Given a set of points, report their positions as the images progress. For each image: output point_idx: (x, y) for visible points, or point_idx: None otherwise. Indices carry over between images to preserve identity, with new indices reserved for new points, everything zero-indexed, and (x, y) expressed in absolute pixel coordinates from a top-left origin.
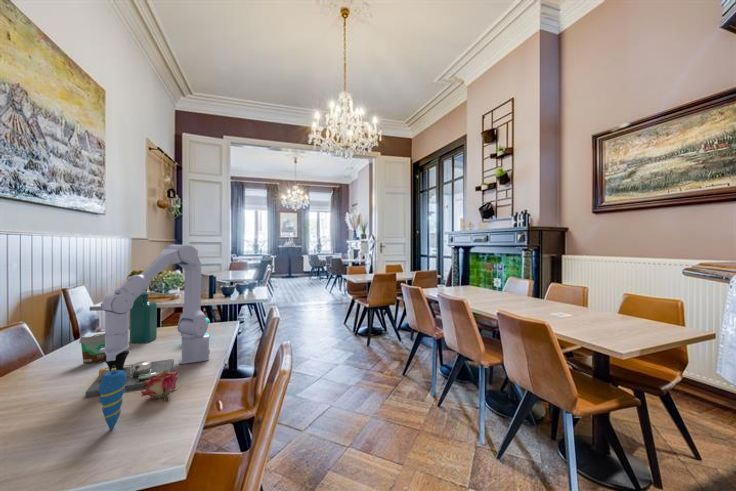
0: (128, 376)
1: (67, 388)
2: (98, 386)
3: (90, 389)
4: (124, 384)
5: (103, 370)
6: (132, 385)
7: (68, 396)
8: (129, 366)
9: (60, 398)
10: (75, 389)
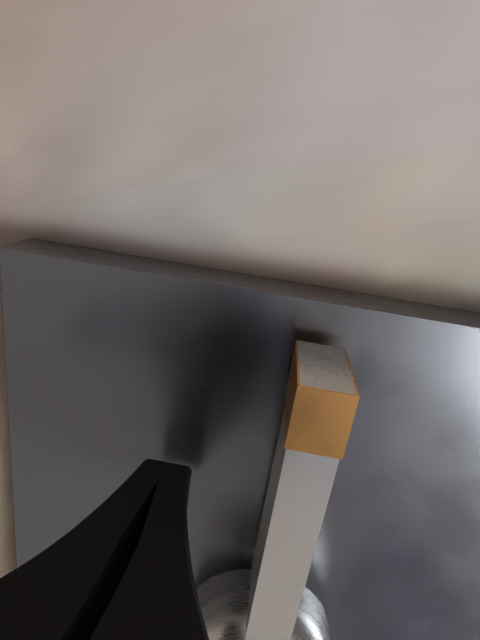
0: (238, 538)
1: (404, 25)
2: (98, 340)
3: (47, 282)
4: (48, 505)
5: (289, 427)
6: (17, 541)
7: (126, 87)
8: (257, 633)
9: (107, 16)
10: (307, 121)
